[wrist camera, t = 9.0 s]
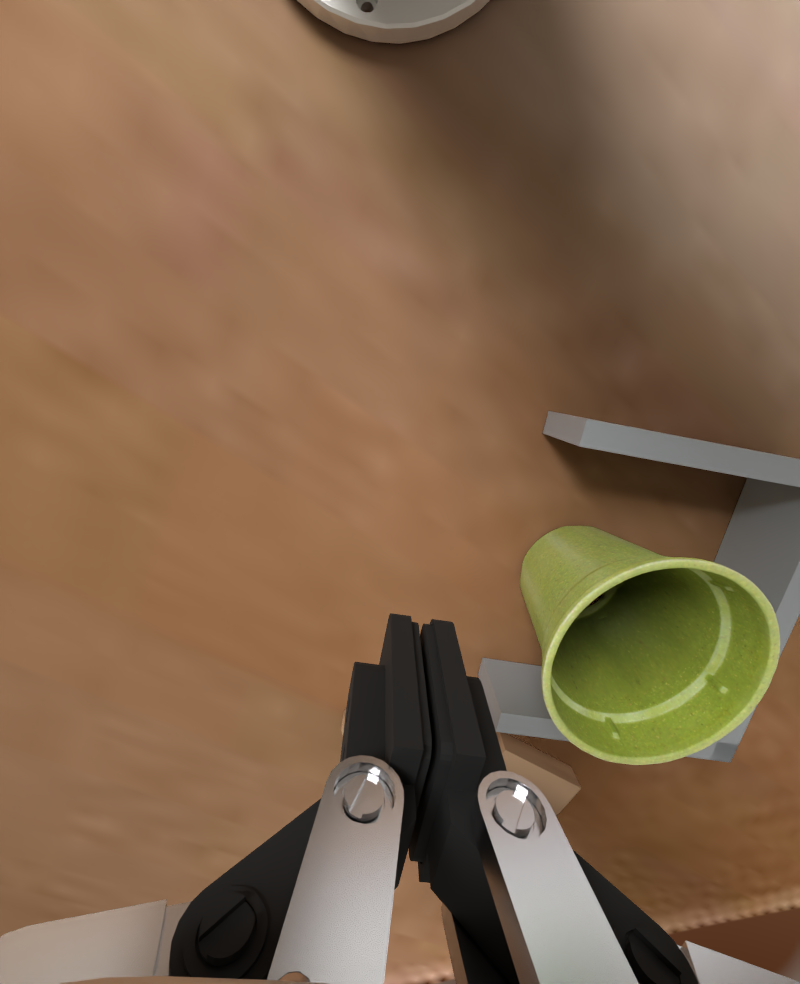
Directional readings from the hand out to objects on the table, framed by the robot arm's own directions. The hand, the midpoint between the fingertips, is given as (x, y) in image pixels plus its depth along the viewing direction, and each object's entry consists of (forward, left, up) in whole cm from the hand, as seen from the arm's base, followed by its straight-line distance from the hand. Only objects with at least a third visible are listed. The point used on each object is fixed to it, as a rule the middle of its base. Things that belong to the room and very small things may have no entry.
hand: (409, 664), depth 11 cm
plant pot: (+2, +11, -13) cm, 17 cm away
